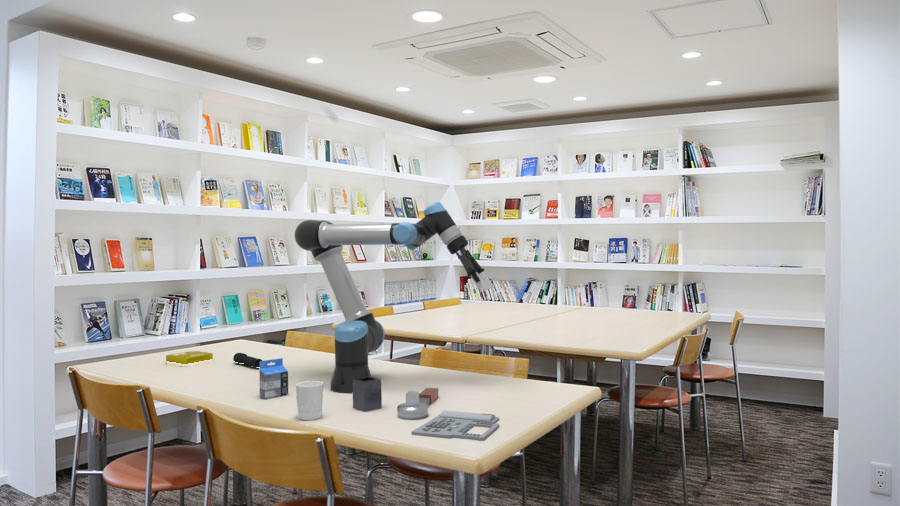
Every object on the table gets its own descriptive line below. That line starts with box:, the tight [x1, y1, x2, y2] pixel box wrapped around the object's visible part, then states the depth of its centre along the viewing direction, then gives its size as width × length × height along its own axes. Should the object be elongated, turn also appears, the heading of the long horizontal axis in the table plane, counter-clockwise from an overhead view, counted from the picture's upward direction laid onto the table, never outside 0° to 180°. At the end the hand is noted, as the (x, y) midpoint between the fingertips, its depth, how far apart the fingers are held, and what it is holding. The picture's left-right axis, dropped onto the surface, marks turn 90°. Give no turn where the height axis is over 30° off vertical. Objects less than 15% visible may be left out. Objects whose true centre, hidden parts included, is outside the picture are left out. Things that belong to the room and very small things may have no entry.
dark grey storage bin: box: [352, 376, 383, 413], centre depth 199 cm, size 6×6×9 cm
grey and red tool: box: [396, 387, 439, 421], centre depth 199 cm, size 29×9×7 cm, turn 168°
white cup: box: [295, 380, 324, 421], centre depth 189 cm, size 8×8×10 cm
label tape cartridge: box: [259, 357, 289, 400], centre depth 217 cm, size 9×4×12 cm, turn 134°
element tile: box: [165, 350, 214, 364], centre depth 284 cm, size 15×15×5 cm
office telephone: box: [410, 410, 500, 442], centre depth 177 cm, size 23×3×20 cm
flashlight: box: [232, 352, 263, 368], centre depth 274 cm, size 5×21×5 cm, turn 42°
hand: (487, 288), depth 229 cm, fingers open, 13 cm apart
